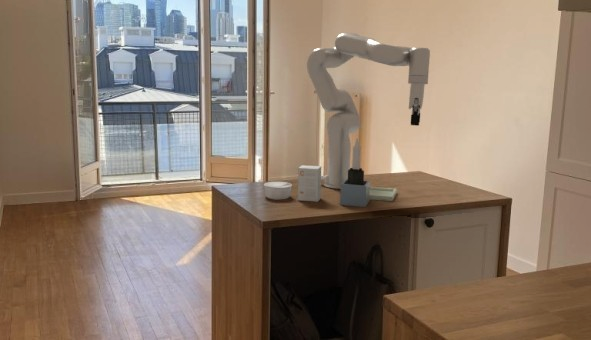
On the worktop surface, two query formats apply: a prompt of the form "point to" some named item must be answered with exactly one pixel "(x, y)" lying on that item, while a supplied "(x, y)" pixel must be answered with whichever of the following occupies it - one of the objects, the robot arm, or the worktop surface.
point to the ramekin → (277, 190)
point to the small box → (309, 183)
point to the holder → (354, 194)
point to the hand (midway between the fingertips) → (415, 123)
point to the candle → (356, 167)
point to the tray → (382, 194)
